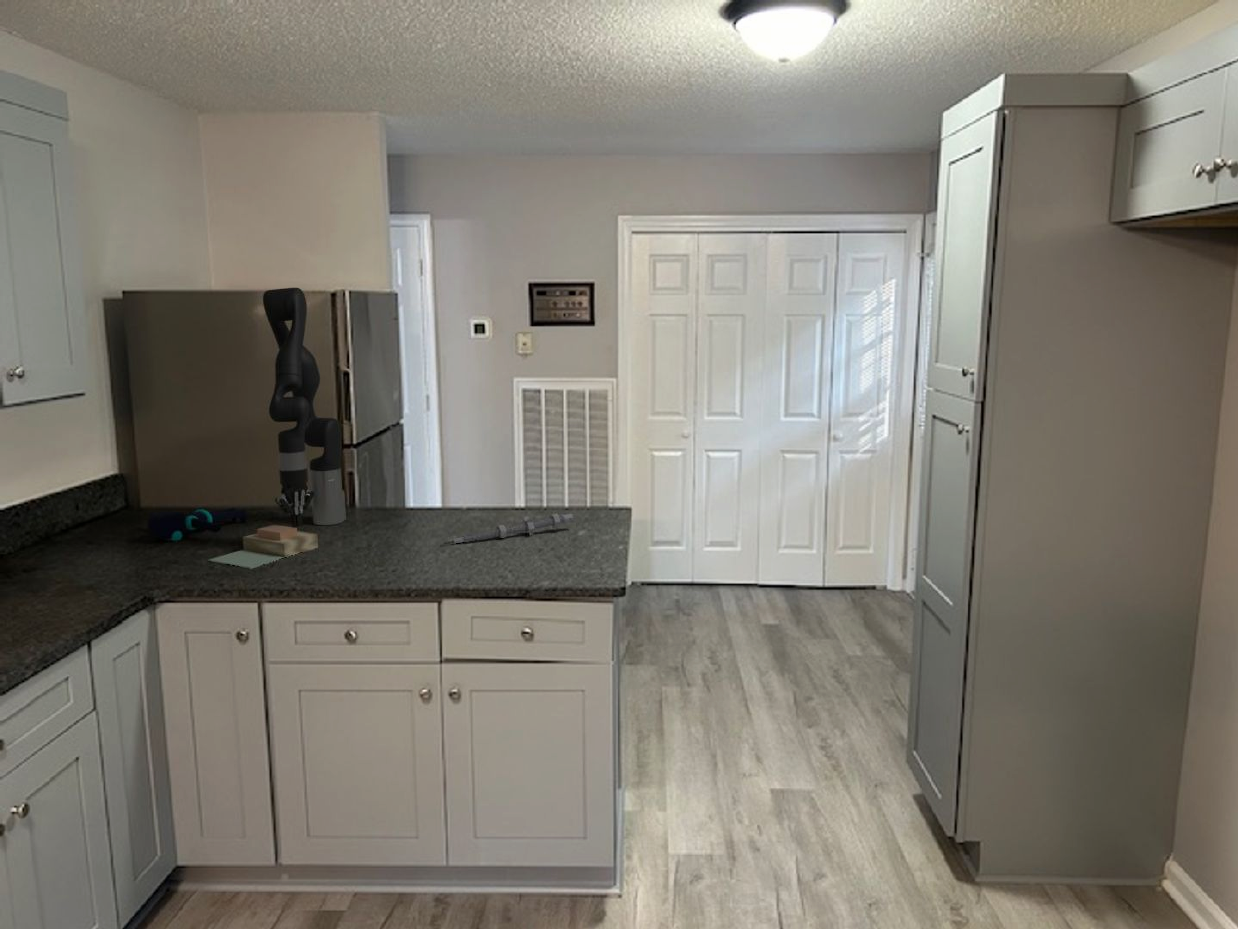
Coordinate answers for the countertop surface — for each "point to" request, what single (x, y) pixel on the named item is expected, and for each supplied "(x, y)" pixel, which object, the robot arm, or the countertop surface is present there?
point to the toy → (189, 522)
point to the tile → (277, 532)
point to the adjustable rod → (516, 528)
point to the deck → (281, 544)
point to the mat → (246, 559)
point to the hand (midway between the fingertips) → (297, 526)
